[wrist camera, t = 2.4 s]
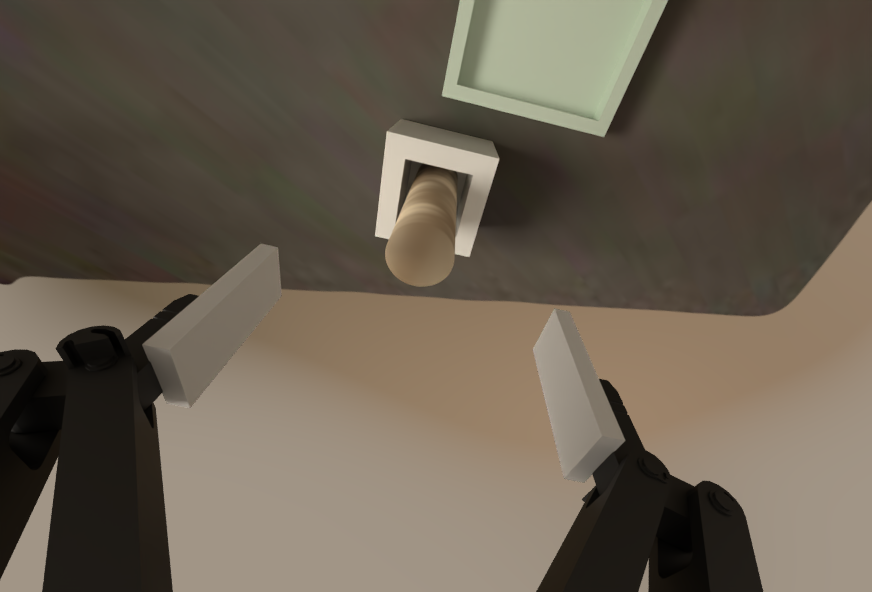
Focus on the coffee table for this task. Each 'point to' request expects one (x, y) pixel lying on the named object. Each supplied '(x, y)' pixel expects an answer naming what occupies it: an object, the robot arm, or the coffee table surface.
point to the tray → (550, 57)
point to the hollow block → (440, 149)
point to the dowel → (425, 229)
